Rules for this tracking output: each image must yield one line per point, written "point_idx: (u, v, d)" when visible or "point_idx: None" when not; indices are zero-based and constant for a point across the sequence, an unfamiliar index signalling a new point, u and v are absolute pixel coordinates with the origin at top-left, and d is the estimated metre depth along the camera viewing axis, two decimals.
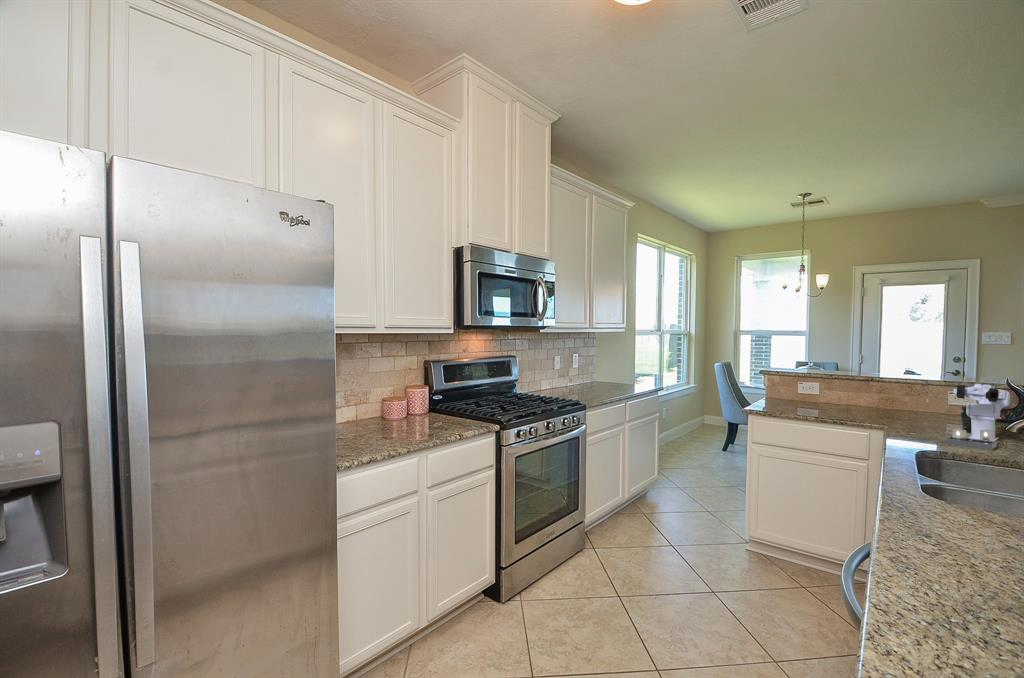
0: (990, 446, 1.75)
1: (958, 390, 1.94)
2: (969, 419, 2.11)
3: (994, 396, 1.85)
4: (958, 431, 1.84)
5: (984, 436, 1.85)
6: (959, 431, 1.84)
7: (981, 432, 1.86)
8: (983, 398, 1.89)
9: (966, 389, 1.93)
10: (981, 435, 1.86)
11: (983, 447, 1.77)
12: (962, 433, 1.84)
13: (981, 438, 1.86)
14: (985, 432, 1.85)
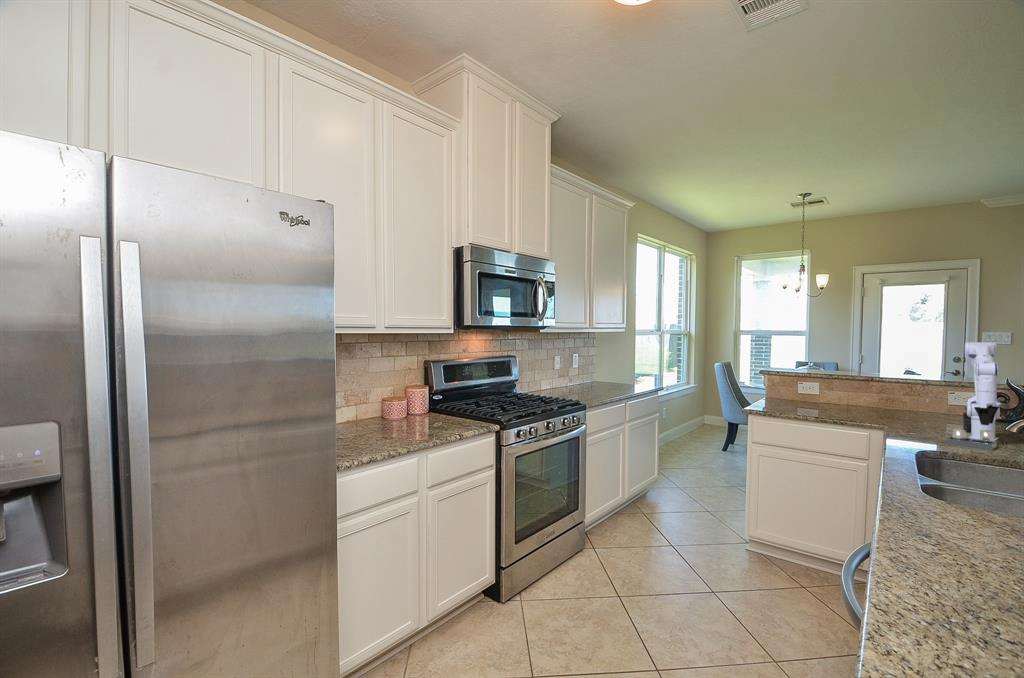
0: (990, 446, 1.75)
1: (985, 409, 1.82)
2: None
3: None
4: (958, 431, 1.84)
5: (984, 436, 1.85)
6: (959, 431, 1.84)
7: (981, 432, 1.86)
8: None
9: (988, 404, 1.83)
10: (981, 435, 1.86)
11: (983, 447, 1.77)
12: (962, 433, 1.84)
13: (981, 438, 1.86)
14: (985, 432, 1.85)
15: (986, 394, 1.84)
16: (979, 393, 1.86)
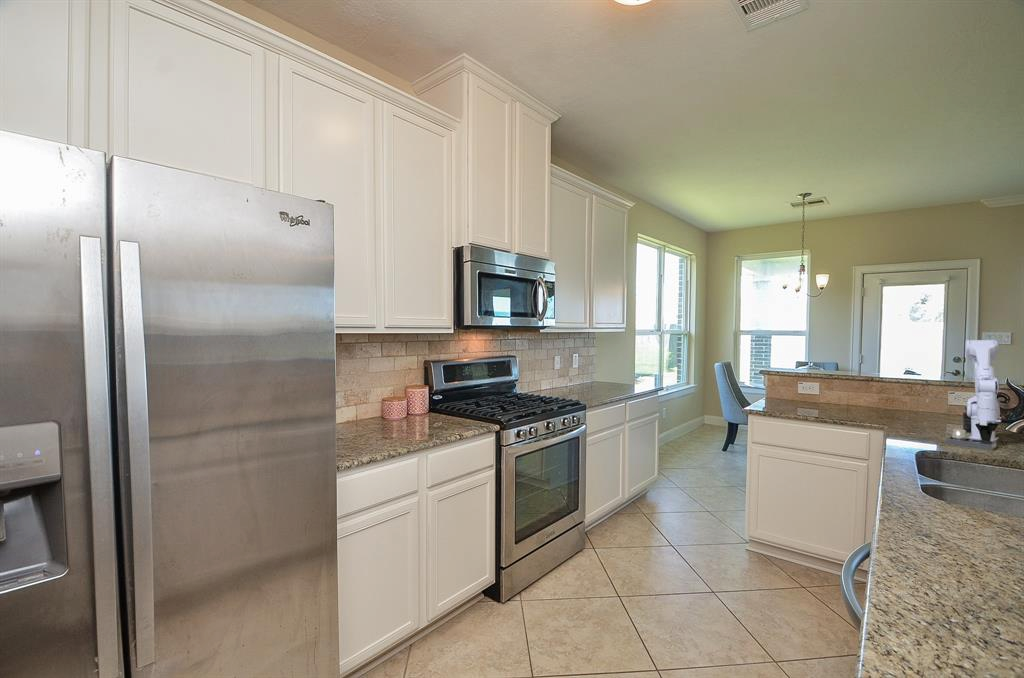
0: (990, 446, 1.75)
1: (986, 426, 1.83)
2: None
3: None
4: (958, 431, 1.84)
5: None
6: (959, 431, 1.84)
7: None
8: None
9: (989, 422, 1.83)
10: None
11: (983, 447, 1.77)
12: (962, 433, 1.83)
13: None
14: None
15: (986, 411, 1.84)
16: (979, 410, 1.86)
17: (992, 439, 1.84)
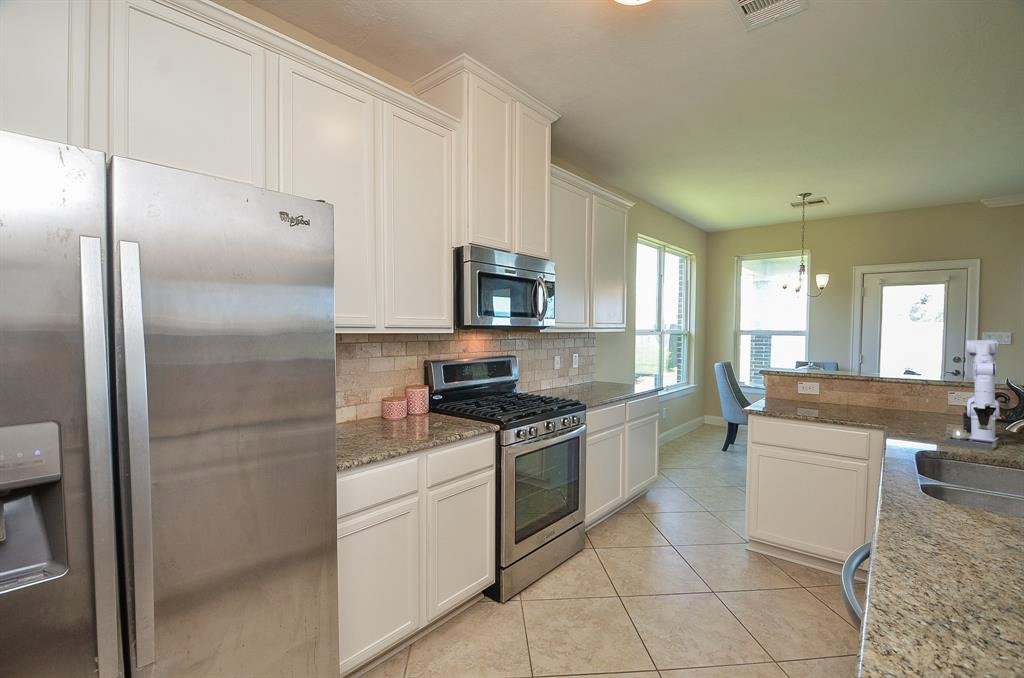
0: (990, 446, 1.75)
1: (984, 410, 1.81)
2: None
3: None
4: (958, 431, 1.84)
5: None
6: (959, 431, 1.84)
7: None
8: None
9: None
10: None
11: (983, 447, 1.77)
12: (962, 433, 1.83)
13: None
14: None
15: (984, 394, 1.82)
16: (977, 393, 1.83)
17: (990, 423, 1.81)
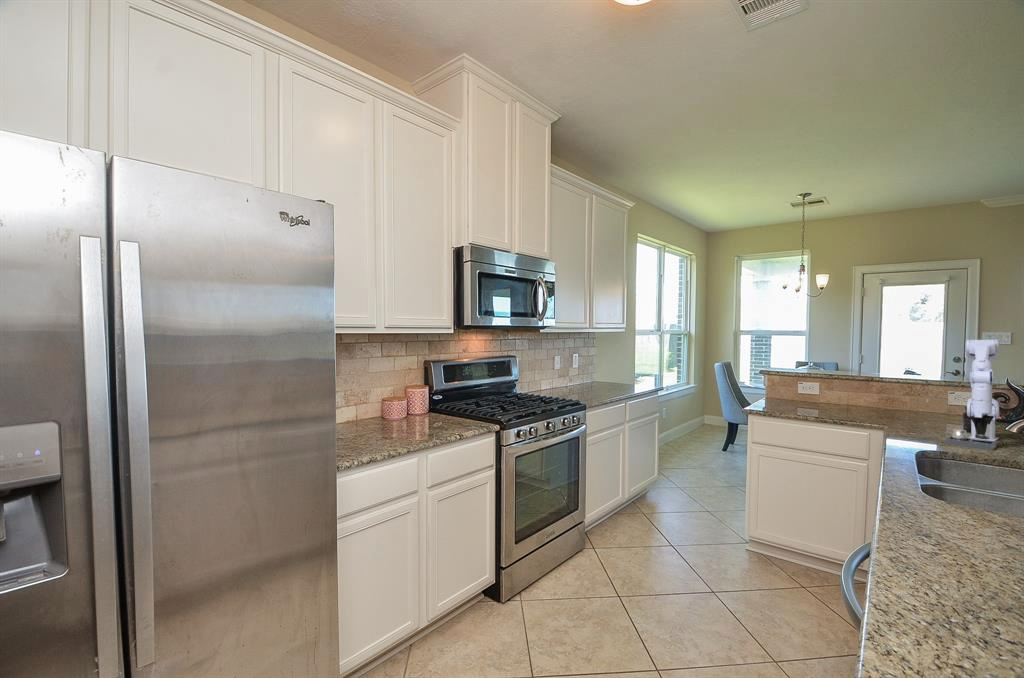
0: (990, 446, 1.75)
1: (981, 419, 1.77)
2: None
3: None
4: (958, 431, 1.84)
5: None
6: (959, 431, 1.84)
7: None
8: None
9: None
10: None
11: (983, 447, 1.77)
12: (962, 433, 1.84)
13: None
14: None
15: (981, 403, 1.78)
16: (974, 402, 1.80)
17: (987, 432, 1.78)
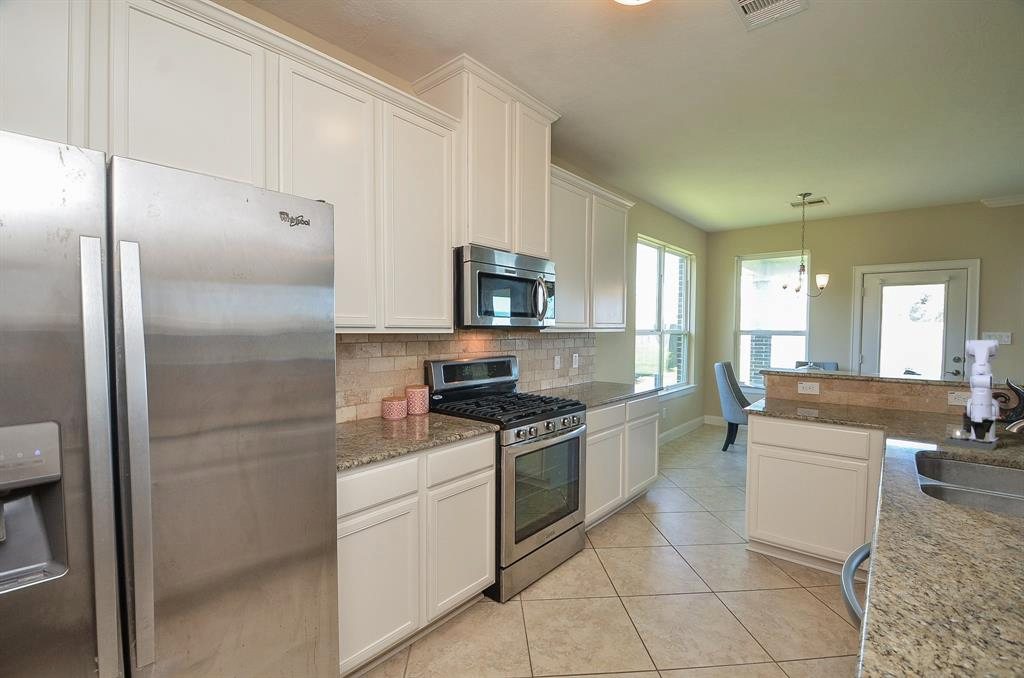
0: (990, 446, 1.75)
1: (980, 423, 1.77)
2: None
3: None
4: (958, 431, 1.84)
5: None
6: (959, 431, 1.84)
7: None
8: None
9: (984, 418, 1.77)
10: None
11: (983, 447, 1.77)
12: (962, 433, 1.83)
13: (976, 440, 1.80)
14: None
15: (981, 407, 1.78)
16: (974, 406, 1.80)
17: (987, 441, 1.78)
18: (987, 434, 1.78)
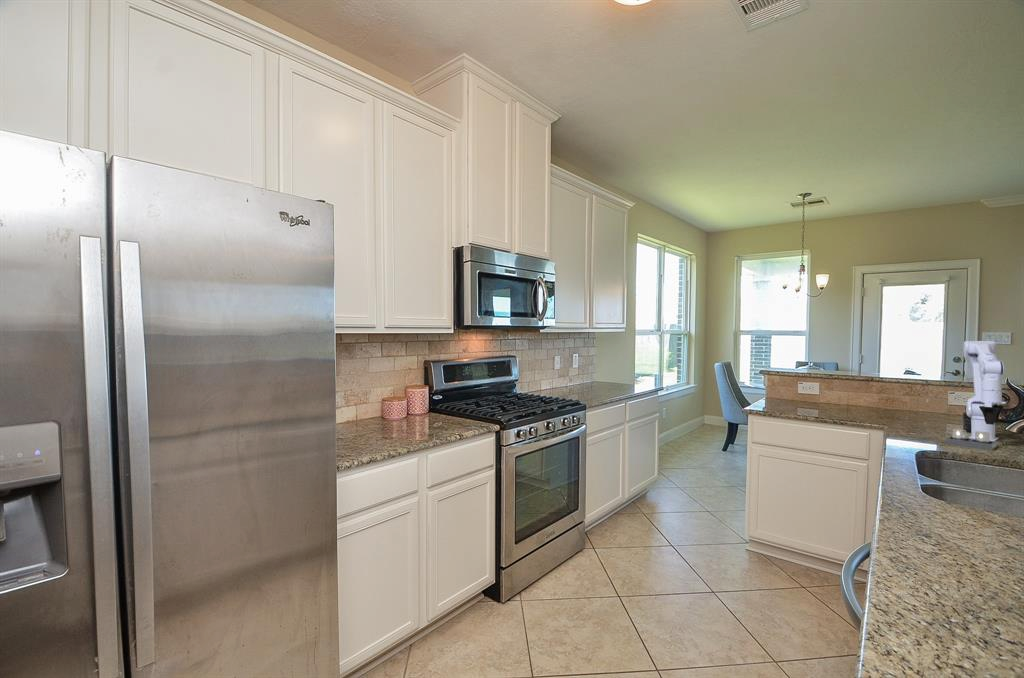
0: (990, 446, 1.75)
1: (990, 409, 1.80)
2: None
3: None
4: (958, 431, 1.84)
5: (979, 438, 1.79)
6: (959, 431, 1.84)
7: (976, 434, 1.80)
8: None
9: (994, 403, 1.80)
10: (976, 437, 1.80)
11: (983, 447, 1.77)
12: (962, 433, 1.83)
13: (976, 440, 1.80)
14: (980, 434, 1.79)
15: (991, 393, 1.81)
16: (984, 392, 1.83)
17: (987, 441, 1.78)
18: (987, 434, 1.78)
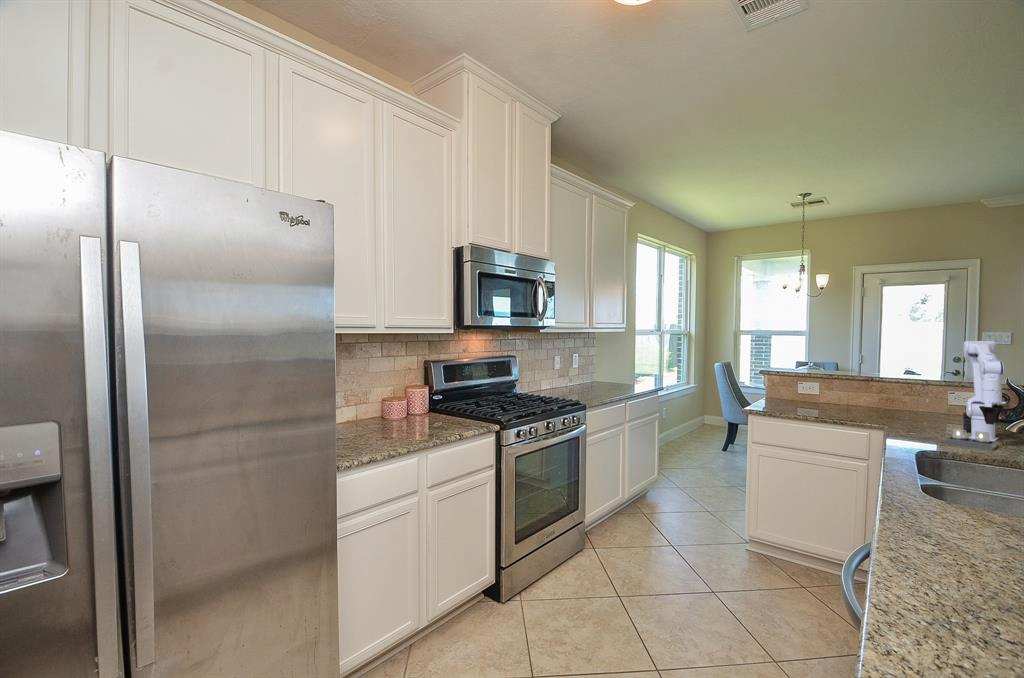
0: (990, 446, 1.75)
1: (990, 409, 1.80)
2: None
3: None
4: (958, 431, 1.84)
5: (979, 438, 1.79)
6: (959, 431, 1.84)
7: (976, 434, 1.80)
8: None
9: (994, 403, 1.80)
10: (976, 437, 1.80)
11: (983, 447, 1.77)
12: (963, 433, 1.83)
13: (976, 440, 1.80)
14: (980, 434, 1.79)
15: (991, 393, 1.81)
16: (984, 392, 1.83)
17: (987, 441, 1.78)
18: (987, 434, 1.78)
